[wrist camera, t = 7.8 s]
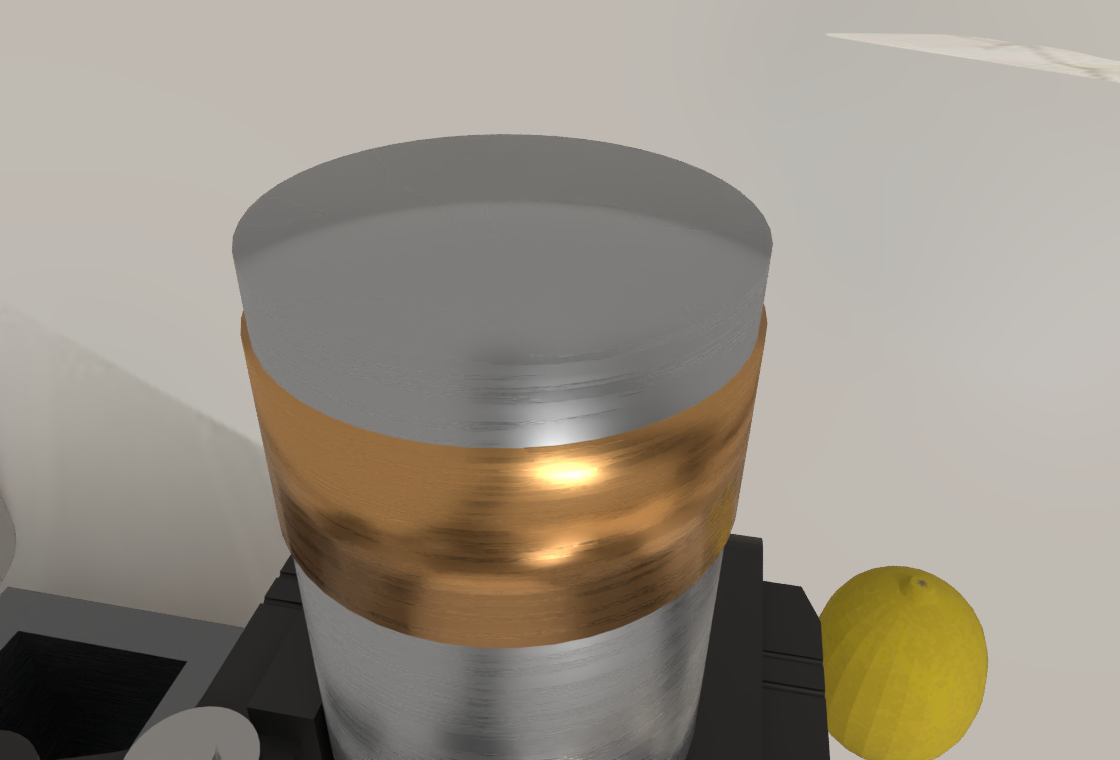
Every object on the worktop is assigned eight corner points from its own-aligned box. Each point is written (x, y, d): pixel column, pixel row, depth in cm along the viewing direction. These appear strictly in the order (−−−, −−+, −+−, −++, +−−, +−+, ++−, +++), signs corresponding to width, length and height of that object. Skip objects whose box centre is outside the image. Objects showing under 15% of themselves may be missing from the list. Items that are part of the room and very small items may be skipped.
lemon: (758, 731, 32) (794, 573, 28) (847, 653, 35) (893, 498, 31) (893, 847, 29) (960, 687, 24) (979, 749, 32) (1052, 590, 28)
